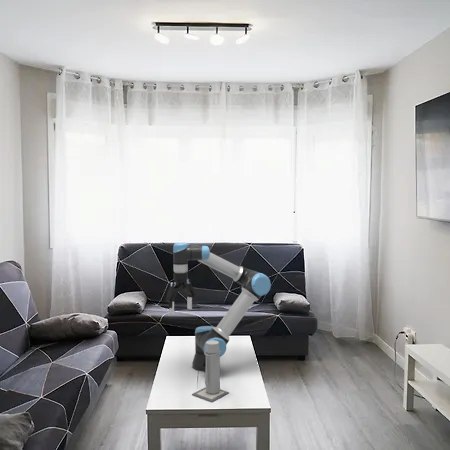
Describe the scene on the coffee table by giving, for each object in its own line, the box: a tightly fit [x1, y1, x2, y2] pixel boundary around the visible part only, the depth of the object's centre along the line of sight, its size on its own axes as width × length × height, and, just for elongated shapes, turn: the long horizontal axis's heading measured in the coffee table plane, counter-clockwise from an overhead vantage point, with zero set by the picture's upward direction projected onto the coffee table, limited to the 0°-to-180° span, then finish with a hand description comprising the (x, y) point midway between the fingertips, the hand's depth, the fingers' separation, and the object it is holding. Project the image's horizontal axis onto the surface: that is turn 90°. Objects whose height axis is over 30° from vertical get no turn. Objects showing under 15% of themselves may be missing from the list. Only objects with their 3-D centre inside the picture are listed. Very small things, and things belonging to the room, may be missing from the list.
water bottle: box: [204, 340, 221, 394], centre depth 224 cm, size 9×8×25 cm
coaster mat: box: [191, 386, 230, 403], centre depth 224 cm, size 13×13×1 cm
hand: (180, 311), depth 241 cm, fingers open, 13 cm apart
